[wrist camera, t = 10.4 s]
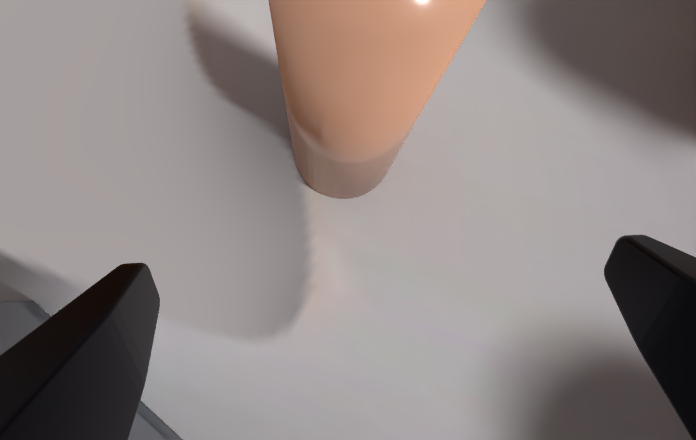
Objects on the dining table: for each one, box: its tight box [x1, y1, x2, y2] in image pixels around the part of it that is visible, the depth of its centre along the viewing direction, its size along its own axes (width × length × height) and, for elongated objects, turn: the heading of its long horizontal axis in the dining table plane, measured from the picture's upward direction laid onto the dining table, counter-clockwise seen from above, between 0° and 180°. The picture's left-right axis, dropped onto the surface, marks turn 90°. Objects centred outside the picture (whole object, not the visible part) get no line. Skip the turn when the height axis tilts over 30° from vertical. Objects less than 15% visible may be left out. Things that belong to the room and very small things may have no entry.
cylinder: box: [269, 0, 486, 199], centre depth 15 cm, size 5×5×14 cm
